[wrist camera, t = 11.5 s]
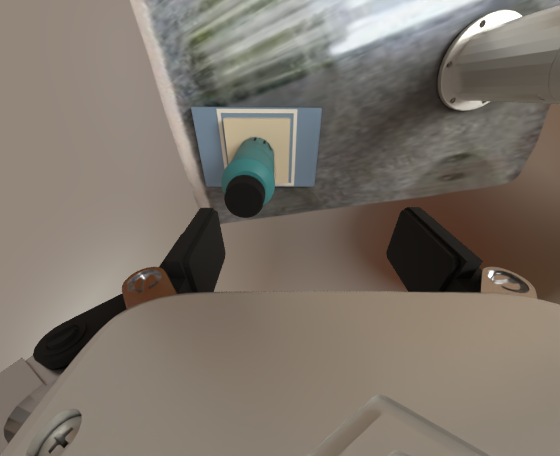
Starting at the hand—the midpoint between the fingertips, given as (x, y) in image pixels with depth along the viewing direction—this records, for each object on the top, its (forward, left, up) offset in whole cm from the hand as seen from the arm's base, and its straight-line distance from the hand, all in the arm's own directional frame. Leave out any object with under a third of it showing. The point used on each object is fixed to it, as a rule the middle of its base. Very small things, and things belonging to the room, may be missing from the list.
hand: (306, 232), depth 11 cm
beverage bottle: (+5, +3, -30) cm, 30 cm away
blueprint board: (+4, +3, -33) cm, 34 cm away
